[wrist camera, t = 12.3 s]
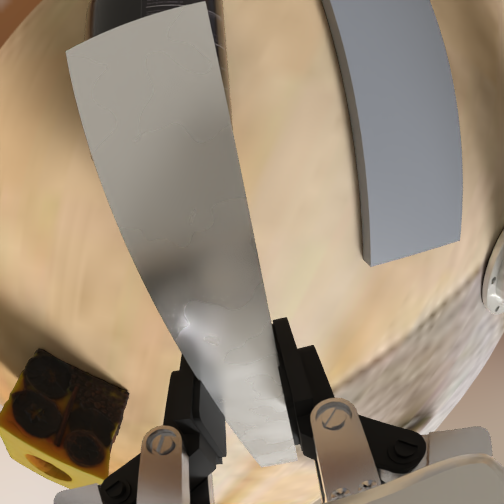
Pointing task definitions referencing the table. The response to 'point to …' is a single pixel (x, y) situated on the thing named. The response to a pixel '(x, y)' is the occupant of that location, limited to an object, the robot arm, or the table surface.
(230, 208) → the metal bar
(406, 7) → the board
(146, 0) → the supplement bottle
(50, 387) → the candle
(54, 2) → the table surface
